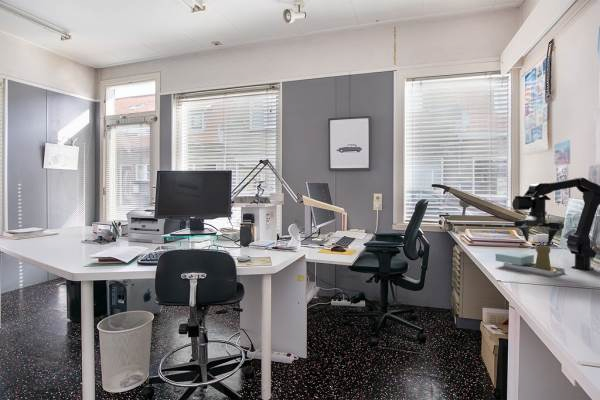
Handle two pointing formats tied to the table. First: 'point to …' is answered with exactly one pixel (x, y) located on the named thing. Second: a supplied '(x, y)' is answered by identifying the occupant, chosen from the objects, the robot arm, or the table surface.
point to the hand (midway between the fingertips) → (538, 242)
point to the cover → (515, 258)
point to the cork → (543, 258)
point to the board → (531, 269)
